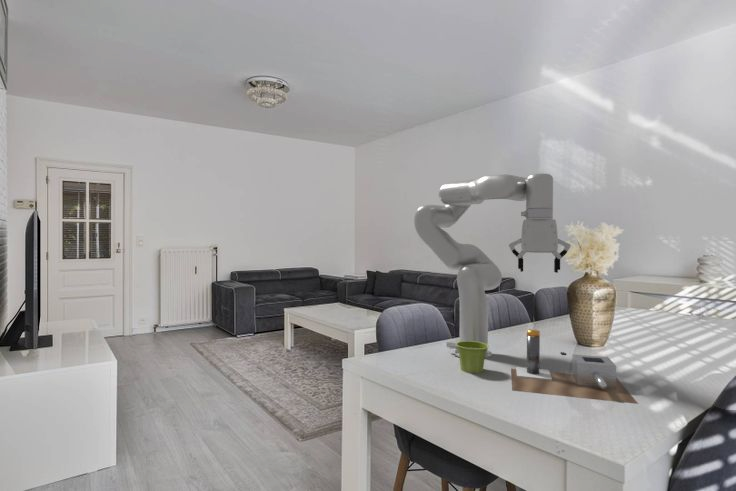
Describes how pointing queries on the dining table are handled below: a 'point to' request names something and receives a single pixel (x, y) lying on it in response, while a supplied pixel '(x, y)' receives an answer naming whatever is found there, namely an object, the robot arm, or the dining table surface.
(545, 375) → the mat
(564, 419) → the dining table surface
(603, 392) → the walnut board
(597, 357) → the block
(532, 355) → the key peg
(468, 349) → the plant pot
